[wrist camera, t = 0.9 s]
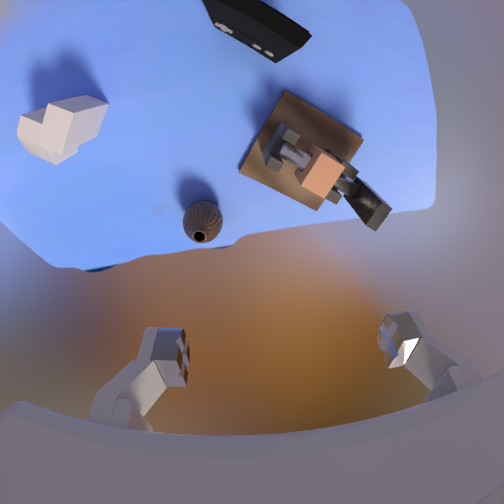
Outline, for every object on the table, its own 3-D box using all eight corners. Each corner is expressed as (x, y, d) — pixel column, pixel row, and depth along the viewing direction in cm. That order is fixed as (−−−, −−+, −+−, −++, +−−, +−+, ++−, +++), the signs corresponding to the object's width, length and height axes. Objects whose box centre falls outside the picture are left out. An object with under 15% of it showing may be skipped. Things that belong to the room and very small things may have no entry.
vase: (229, 220, 53) (228, 246, 45) (197, 233, 54) (191, 260, 47) (213, 189, 49) (208, 210, 42) (180, 204, 50) (170, 227, 43)
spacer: (312, 143, 39) (321, 152, 34) (333, 156, 40) (345, 167, 35) (293, 173, 41) (300, 185, 37) (315, 184, 43) (324, 198, 38)
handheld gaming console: (211, 28, 33) (191, -8, 16) (228, 8, 31) (220, -39, 14) (274, 66, 37) (299, 53, 21) (291, 46, 35) (326, 22, 19)
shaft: (286, 134, 38) (299, 149, 30) (365, 182, 43) (392, 208, 34) (273, 156, 40) (282, 178, 32) (352, 201, 45) (375, 231, 36)
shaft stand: (284, 90, 40) (294, 92, 32) (361, 138, 44) (385, 152, 36) (238, 170, 47) (238, 190, 39) (315, 208, 52) (328, 234, 44)
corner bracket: (109, 103, 39) (73, 113, 29) (89, 159, 44) (55, 182, 34) (65, 87, 35) (25, 95, 25) (49, 141, 41) (12, 160, 31)
